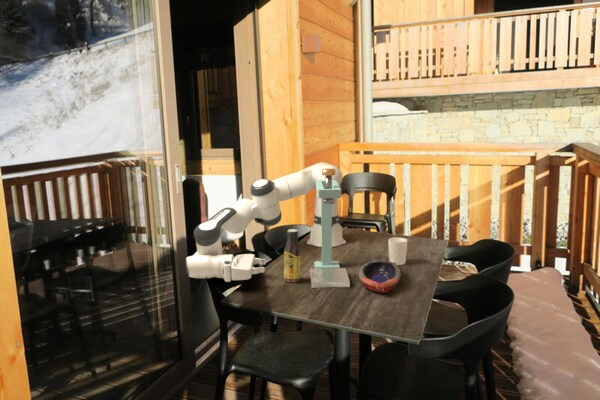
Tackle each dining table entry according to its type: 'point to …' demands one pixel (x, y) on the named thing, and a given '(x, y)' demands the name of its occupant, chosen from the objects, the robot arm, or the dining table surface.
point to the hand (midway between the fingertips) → (265, 265)
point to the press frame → (327, 223)
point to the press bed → (329, 277)
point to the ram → (328, 183)
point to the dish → (380, 275)
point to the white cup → (397, 250)
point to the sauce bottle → (292, 257)
